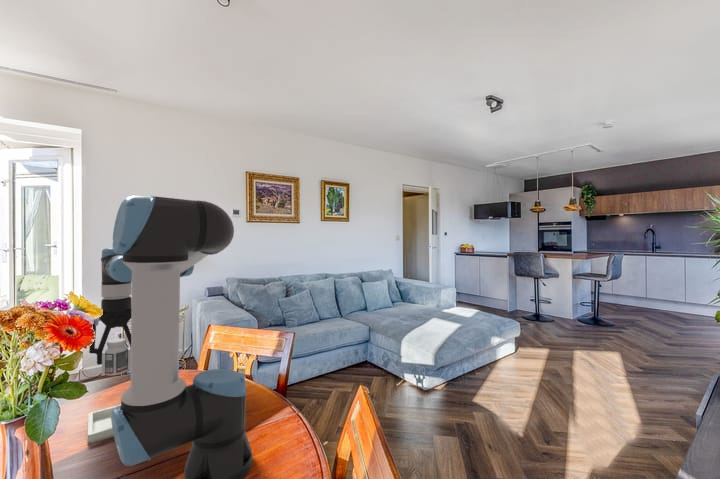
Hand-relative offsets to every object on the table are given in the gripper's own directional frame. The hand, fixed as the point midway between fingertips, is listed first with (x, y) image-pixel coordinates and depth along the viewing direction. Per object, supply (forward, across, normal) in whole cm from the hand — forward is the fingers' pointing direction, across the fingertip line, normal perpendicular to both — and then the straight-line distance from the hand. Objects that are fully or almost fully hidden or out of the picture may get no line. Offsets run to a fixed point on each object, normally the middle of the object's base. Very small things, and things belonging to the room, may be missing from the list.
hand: (116, 371), depth 100 cm
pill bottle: (+1, 0, 0) cm, 1 cm away
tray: (+14, 0, +6) cm, 15 cm away
